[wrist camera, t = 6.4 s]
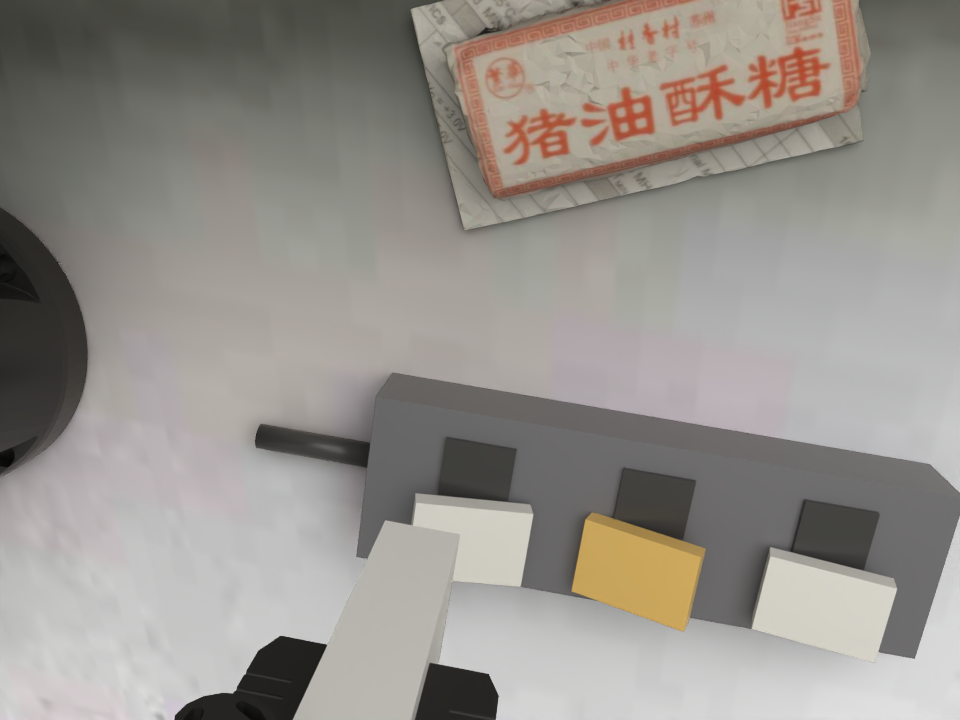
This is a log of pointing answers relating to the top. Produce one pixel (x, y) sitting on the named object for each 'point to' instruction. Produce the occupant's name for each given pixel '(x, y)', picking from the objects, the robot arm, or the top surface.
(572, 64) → the packaged product
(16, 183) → the top surface
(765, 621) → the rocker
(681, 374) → the top surface
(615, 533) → the yellow box
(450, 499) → the white box
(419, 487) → the power strip
